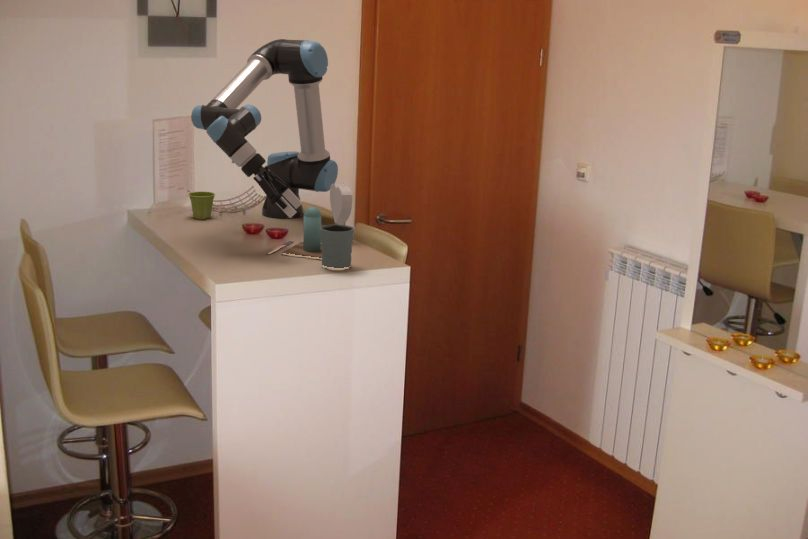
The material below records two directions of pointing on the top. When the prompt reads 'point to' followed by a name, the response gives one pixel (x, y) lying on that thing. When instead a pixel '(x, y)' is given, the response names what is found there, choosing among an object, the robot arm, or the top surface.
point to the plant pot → (201, 204)
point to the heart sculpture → (340, 202)
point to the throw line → (288, 242)
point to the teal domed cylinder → (312, 230)
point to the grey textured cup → (336, 245)
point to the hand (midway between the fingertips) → (296, 210)
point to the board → (302, 251)
